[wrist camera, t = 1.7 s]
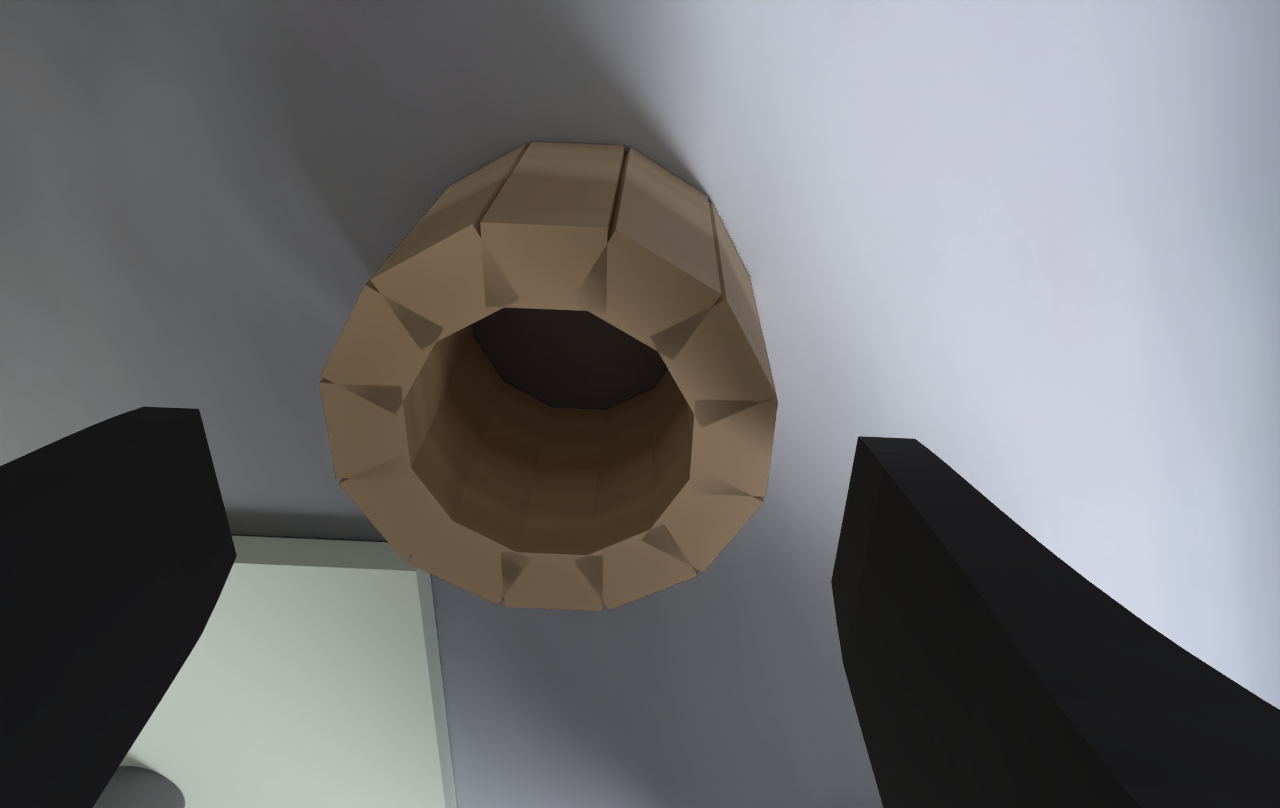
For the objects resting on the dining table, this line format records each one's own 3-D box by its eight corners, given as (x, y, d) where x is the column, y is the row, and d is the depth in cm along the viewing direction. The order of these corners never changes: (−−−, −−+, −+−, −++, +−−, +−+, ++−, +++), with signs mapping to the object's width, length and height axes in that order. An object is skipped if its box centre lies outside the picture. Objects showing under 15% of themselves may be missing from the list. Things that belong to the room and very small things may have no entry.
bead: (763, 150, 13) (798, 235, 9) (732, 462, 16) (750, 617, 12) (393, 136, 13) (290, 214, 9) (426, 449, 16) (356, 600, 12)
